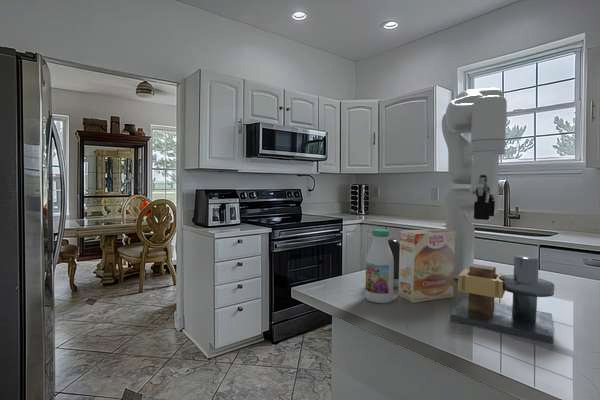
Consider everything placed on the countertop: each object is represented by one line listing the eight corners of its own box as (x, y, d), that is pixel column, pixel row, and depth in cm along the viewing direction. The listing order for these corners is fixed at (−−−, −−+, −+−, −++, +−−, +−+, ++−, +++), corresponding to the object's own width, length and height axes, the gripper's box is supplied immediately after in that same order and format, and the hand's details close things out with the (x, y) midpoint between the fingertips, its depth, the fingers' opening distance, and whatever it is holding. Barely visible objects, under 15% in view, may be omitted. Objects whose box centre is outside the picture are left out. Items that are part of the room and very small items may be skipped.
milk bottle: (375, 293, 104) (376, 227, 103) (398, 299, 98) (399, 230, 97) (359, 299, 98) (361, 229, 97) (383, 306, 93) (385, 232, 92)
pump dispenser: (396, 292, 104) (397, 243, 103) (368, 285, 112) (369, 238, 111) (414, 286, 111) (415, 239, 110) (387, 279, 119) (387, 235, 118)
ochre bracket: (458, 291, 86) (458, 275, 85) (468, 278, 97) (469, 264, 97) (502, 298, 80) (502, 281, 80) (507, 284, 92) (508, 269, 92)
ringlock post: (450, 320, 83) (452, 255, 82) (463, 302, 96) (465, 245, 96) (552, 343, 72) (556, 268, 71) (551, 319, 85) (554, 255, 84)
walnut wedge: (468, 309, 87) (469, 266, 86) (472, 305, 90) (474, 263, 89) (490, 314, 83) (491, 270, 83) (494, 310, 86) (495, 267, 86)
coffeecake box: (413, 303, 95) (415, 233, 94) (397, 295, 102) (398, 230, 101) (454, 297, 101) (456, 231, 100) (436, 290, 107) (438, 228, 106)
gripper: (476, 151, 94) (473, 213, 95) (463, 146, 80) (461, 219, 81) (508, 150, 89) (505, 215, 91) (501, 144, 75) (497, 222, 77)
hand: (484, 217), depth 86 cm, fingers open, 9 cm apart
